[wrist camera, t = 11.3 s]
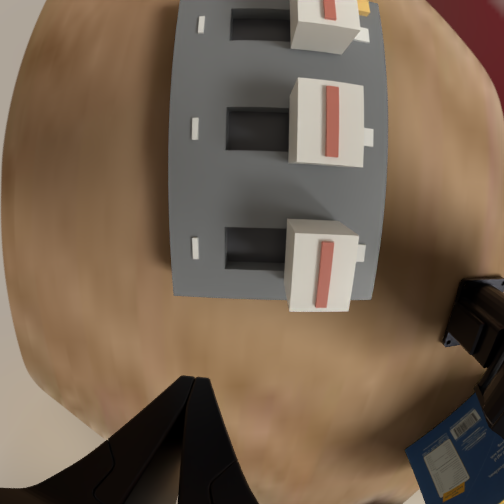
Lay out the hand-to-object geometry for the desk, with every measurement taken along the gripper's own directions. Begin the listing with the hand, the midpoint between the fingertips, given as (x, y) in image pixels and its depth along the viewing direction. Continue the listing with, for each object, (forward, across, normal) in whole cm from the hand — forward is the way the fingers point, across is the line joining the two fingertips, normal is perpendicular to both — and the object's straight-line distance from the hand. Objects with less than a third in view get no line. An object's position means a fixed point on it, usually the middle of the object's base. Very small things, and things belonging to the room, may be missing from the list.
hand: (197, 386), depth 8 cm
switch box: (+12, -3, -8) cm, 15 cm away
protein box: (+12, -30, +22) cm, 39 cm away
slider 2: (+10, -4, -8) cm, 14 cm away
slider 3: (+10, -5, -2) cm, 11 cm away
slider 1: (+10, -4, -15) cm, 18 cm away
